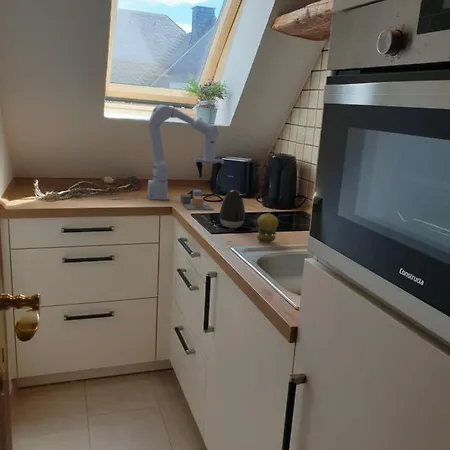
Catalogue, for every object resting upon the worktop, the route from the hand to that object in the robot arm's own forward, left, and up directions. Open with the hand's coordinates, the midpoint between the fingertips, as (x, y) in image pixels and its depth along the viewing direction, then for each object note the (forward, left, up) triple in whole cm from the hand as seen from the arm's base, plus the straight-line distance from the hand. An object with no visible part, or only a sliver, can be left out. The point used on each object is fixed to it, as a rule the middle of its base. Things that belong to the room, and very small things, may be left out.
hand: (208, 177), depth 241 cm
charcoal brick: (-13, -12, -11) cm, 21 cm away
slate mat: (-9, -21, -10) cm, 25 cm away
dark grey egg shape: (-2, -53, -11) cm, 54 cm away
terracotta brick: (-9, -20, -10) cm, 24 cm away
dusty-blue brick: (-5, -1, -11) cm, 12 cm away
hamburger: (+5, -74, -11) cm, 75 cm away
